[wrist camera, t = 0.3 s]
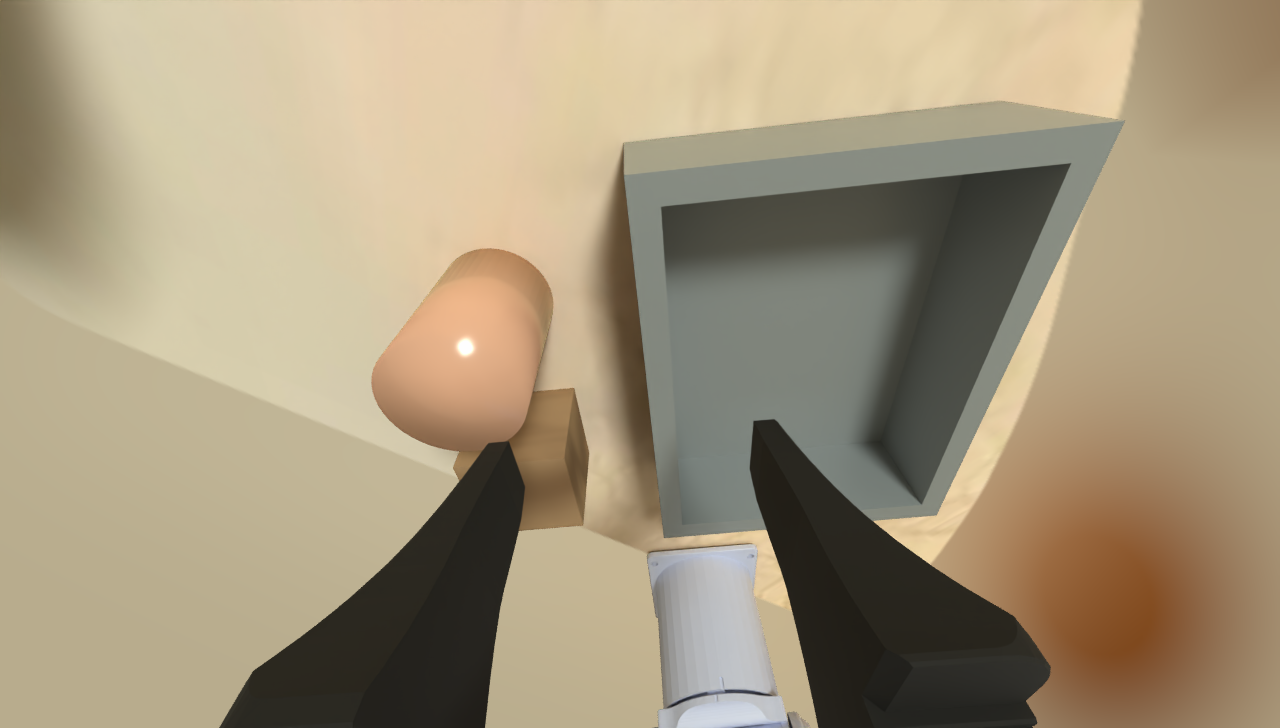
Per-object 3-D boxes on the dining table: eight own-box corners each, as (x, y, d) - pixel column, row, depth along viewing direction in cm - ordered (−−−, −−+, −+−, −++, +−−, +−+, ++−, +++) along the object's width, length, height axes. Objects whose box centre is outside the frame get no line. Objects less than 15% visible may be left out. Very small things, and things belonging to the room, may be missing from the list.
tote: (889, 444, 27) (936, 515, 23) (657, 464, 27) (663, 538, 23) (1001, 100, 17) (1125, 120, 12) (623, 143, 17) (623, 175, 13)
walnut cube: (589, 451, 27) (583, 525, 23) (506, 459, 27) (486, 533, 23) (574, 387, 24) (563, 458, 20) (481, 395, 24) (452, 467, 20)
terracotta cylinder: (562, 340, 22) (542, 444, 16) (462, 350, 22) (408, 457, 17) (539, 242, 19) (505, 328, 13) (425, 254, 19) (342, 344, 14)
